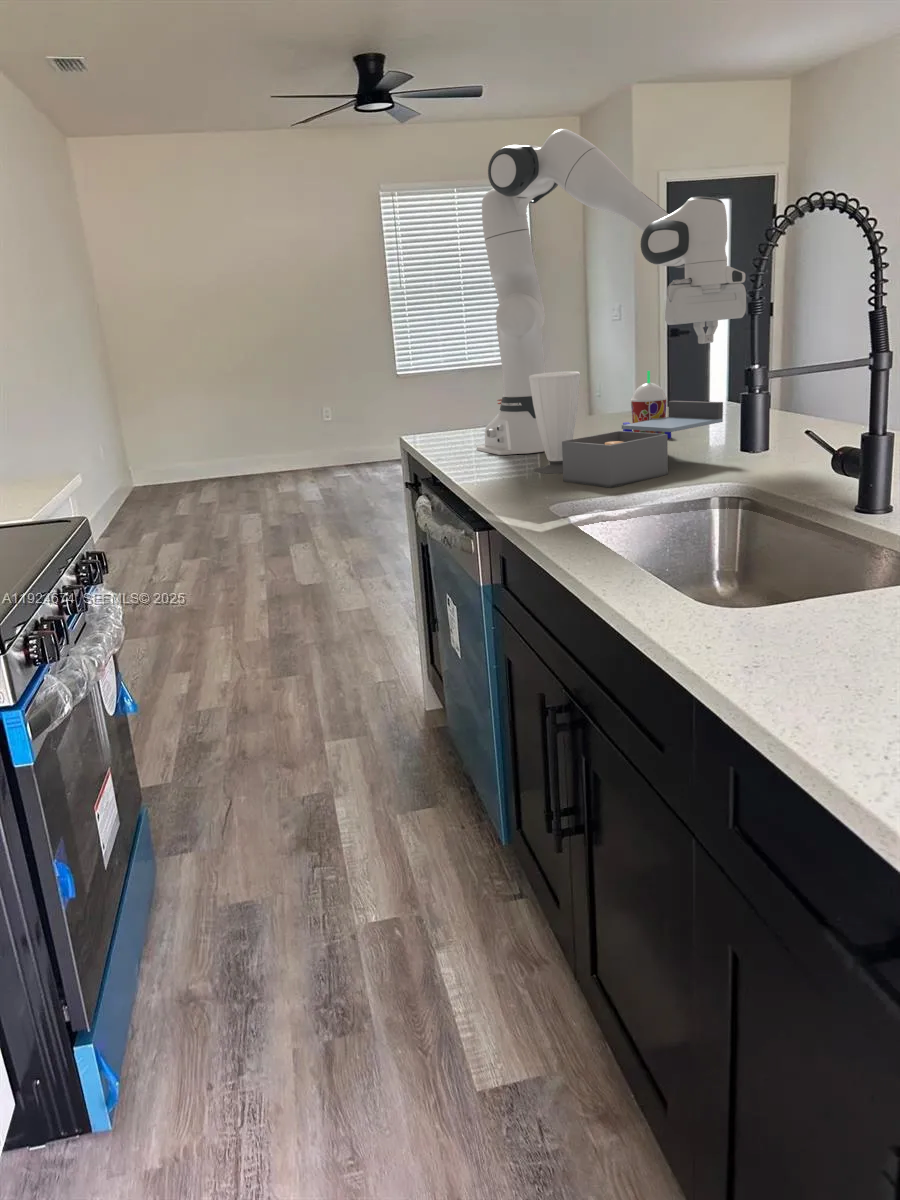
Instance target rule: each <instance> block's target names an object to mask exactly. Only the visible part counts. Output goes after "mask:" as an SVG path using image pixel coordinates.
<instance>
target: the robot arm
mask: <svg viewBox="0 0 900 1200" xmlns="http://www.w3.org/2000/svg"><path fill="white" fill-rule="evenodd" d="M487 175H488V176H487V177H488V181H489V183H490V185H491V186H492V189H490V190H488V191H487V192H486V193H485V194H484V195H483V197H482V201H481V219H482V220H481V221H482V222H481V223H482V231H483V232H482V233H483V238H484V239H483V240H484V244H485V249H486V255H487V259H488V261H487V262H488V265H489V271H490V276H491V279H492V281H493V285H494V288H495V292H496V296H497V300H498V304H499V305H498V306H497V309H496V313H495V321H496V330H497V339H498V340H497V341H498V348H499V349H498V350H499V356H500V362H501V370H502V371H501V372H502V390H503V396H502V397H501V399H497V400H496V401H497V402H498V403H497V405H500V406H499V407H500V408H499V412H498V413H497V415H496V416H495V417H494V418H493V419H492V420H491V421H490V422H489V423H488V424H487V425H486V427H485V429H484V444H480V445H478V446H476V451H479V452H484V453H488V454H489V453H490V454H494V455H499V456H505V455H517V454H519V455H520V454H521V455H522V454H523V455H524V454H534V453H543V452H545V451H544V448H543V445H542V441H541V437H540V433H539V429H538V425H537V420H536V416H535V411H534V406H533V400H532V394H531V388H530V381H529V376H530V375H534V374H541V373H547V372H546V359H545V353H544V352H545V351H544V341H543V327H544V325H545V321H546V320H545V319H546V311H545V306H544V301H543V295H542V290H541V287H540V281H539V277H538V276H539V275H538V273H537V272H538V271H537V268H536V264H535V259H534V253H533V245H532V240H531V234H530V229H529V224H528V218H527V209H528V206H529V204H536V203H538V202H539V201H540V200H541V199H543V198H544V197H545V196H547V195H549V194H550V193H552V192H553V191H554V190H555V189H556V188H557V187H558V186H559V187H560V188H561V189H563V190H564V192H566V193H567V194H568V195H569V196H570V197H571V198H573V199H574V200H576V201H577V202H579V203H580V204H582V205H584V206H586V207H588V208H590V209H593V210H596V211H602V212H606V213H610V214H613V215H617V216H619V217H622V218H624V219H625V220H627V221H629V222H630V223H631V224H632V225H633V226H635V227H637V228H638V230H640V231H641V232H642V234H641V237H640V251H641V253H642V255H643V258H644V259H645V260H646V261H647V262H649V263H651V264H652V265H655V266H661V267H662V266H663V267H674V268H678V269H683V268H684V278H682V279H673V280H672V282H670V283H669V285H668V286H667V291H666V294H667V296H666V299H665V300H666V301H665V310H664V321H665V323H666V324H667V326H673V325H683V324H686V325H687V324H693V329H694V332H695V334H696V336H697V343H698V344H699V345H700V344H701V345H703V344H710V343H713V342H714V334H715V332H716V331H717V328H718V325H719V321H722V320H723V321H724V320H731V319H732V320H733V319H735V320H736V319H742V318H743V317H744V316H745V314H746V312H747V291H746V287H745V285H744V284H743V283H745V281H746V273H745V272H744V271H741V270H739V269H736V268H734V267H731V266H730V265H728V257H727V253H726V246H727V242H728V221H727V218H728V217H727V210H726V209H727V208H726V206H725V205H726V204H725V203H724V202H723V200H721V199H720V198H716V197H710V196H692V197H690V198H689V199H687V200H686V202H684V203H683V205H681V206H680V207H679V208H678V209H676V210H673V212H671V213H669V212H667V211H666V210H665V209H663V208H662V207H661V206H660V205H659V204H657V203H656V202H655V201H654V200H652V199H651V198H649V196H647V195H646V194H645V193H643V192H642V191H641V190H640V189H639V188H638V187H637V186H636V185H635V184H634V183H633V182H632V181H631V180H630V178H628V176H626V175H625V173H623V171H622V170H621V169H620V168H619V167H618V166H617V165H616V164H615V163H614V162H613V161H612V160H611V158H609V157H608V156H607V155H606V154H605V153H604V152H603V151H602V150H601V149H599V147H597V146H596V145H595V144H593V143H592V142H590V141H589V140H588V139H586V138H584V137H583V136H581V135H579V134H578V133H577V132H574V131H572V130H570V129H567V128H560V129H556V130H554V132H552V133H551V134H549V136H548V137H547V138H546V140H545V141H544V143H543V144H542V145H541V146H538V145H533V144H522V145H521V144H520V145H519V144H511V145H506V146H504V147H502V148H500V149H498V150H497V151H495V152H494V153H493V155H492V156H491V157H490V159H489V162H488V167H487ZM706 327H707V330H706V332H705V330H704V328H706Z"/></svg>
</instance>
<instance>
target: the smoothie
mask: <svg viewBox="0 0 900 1200" xmlns="http://www.w3.org/2000/svg"><path fill="white" fill-rule="evenodd" d="M646 371H647V372H646V374H647V375H646V378H647V379H646V380H647V381H646V382H644V383H642V384H641V385H639V386H638V387H637V388H636V389H635V390H634V392H633V393H632V397H631V398H630V406H631V408H630V409H631V418H632V419H631V420H632V423H637V422H643V421H648V420H654V419H659V418H665V417H667V415H666V414H667V402H668V401H667V399H668V397H667V395H666V393H665V391H664V389H663V388H662V387H661V386H660V385H659V384H657V383H655V382H651V370H646ZM632 431H633V432H642V433H657V434H665V432H661V431H645V430H632Z"/></svg>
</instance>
